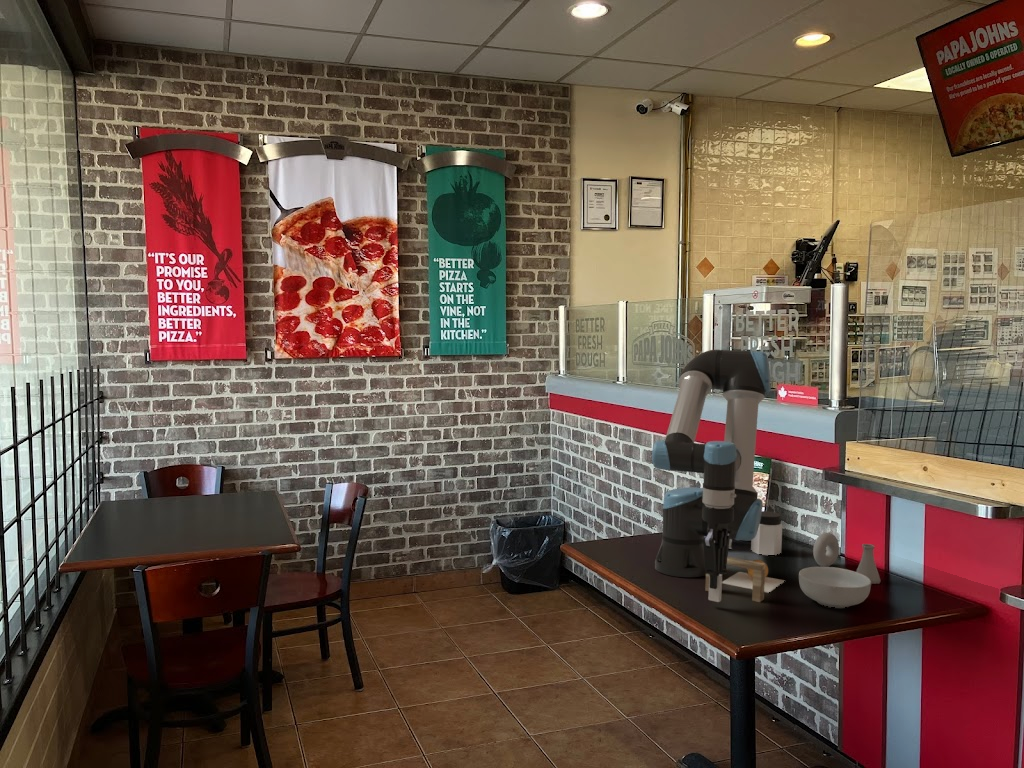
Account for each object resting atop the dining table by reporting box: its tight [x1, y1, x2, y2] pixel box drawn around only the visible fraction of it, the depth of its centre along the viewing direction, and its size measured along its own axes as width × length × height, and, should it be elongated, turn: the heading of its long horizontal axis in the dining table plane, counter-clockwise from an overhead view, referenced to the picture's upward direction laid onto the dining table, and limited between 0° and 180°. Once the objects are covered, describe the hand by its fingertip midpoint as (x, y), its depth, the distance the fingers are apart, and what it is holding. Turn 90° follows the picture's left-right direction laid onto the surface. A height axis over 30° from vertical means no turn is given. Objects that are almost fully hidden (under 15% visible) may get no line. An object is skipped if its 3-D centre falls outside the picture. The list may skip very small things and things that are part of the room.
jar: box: [750, 510, 783, 556], centre depth 256 cm, size 9×8×12 cm
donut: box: [812, 532, 840, 567], centre depth 242 cm, size 10×4×10 cm, turn 125°
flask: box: [855, 543, 882, 585], centre depth 229 cm, size 7×7×10 cm
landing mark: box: [722, 571, 786, 594], centre depth 225 cm, size 13×13×1 cm
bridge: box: [704, 556, 765, 603], centre depth 214 cm, size 3×14×9 cm, turn 54°
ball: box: [746, 559, 769, 578], centre depth 227 cm, size 6×6×6 cm
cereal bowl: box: [798, 566, 872, 609], centre depth 209 cm, size 17×17×7 cm
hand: (714, 600), depth 203 cm, fingers closed
